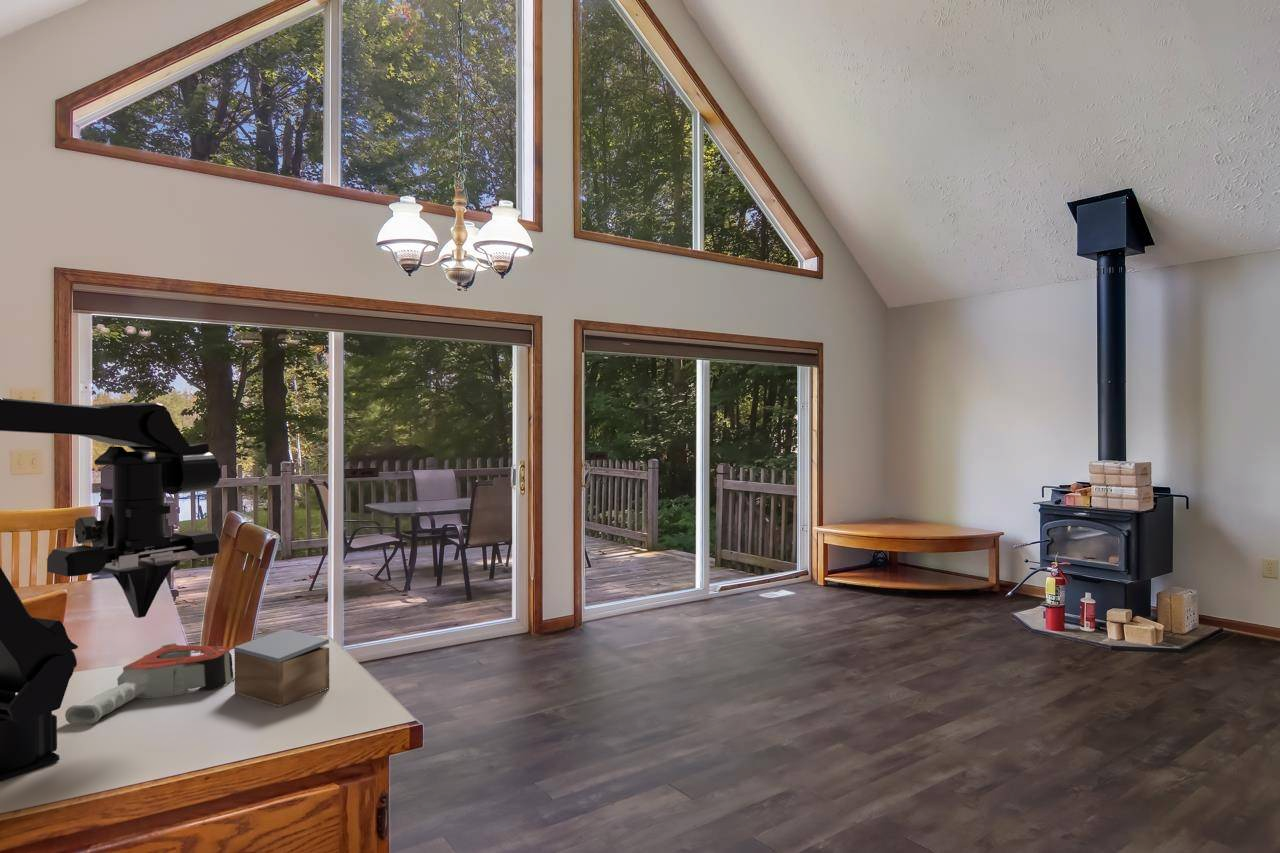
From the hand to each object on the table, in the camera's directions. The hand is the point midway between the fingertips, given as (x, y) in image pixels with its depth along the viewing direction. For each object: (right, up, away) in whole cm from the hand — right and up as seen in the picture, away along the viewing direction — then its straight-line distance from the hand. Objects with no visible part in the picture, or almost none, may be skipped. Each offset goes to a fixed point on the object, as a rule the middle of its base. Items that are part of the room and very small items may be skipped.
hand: (140, 617), depth 101 cm
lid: (+14, -6, +9) cm, 18 cm away
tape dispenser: (-3, -14, +8) cm, 16 cm away
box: (+14, -13, +9) cm, 21 cm away
